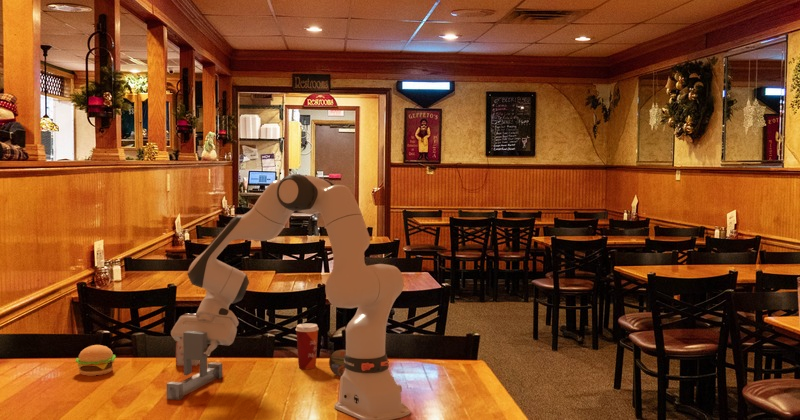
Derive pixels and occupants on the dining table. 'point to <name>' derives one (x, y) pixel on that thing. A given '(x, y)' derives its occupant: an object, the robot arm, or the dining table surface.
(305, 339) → the paper cup
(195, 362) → the printed food carton
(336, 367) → the tin
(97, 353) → the hamburger
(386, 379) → the robot arm
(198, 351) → the clip
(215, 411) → the dining table surface
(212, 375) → the rail
